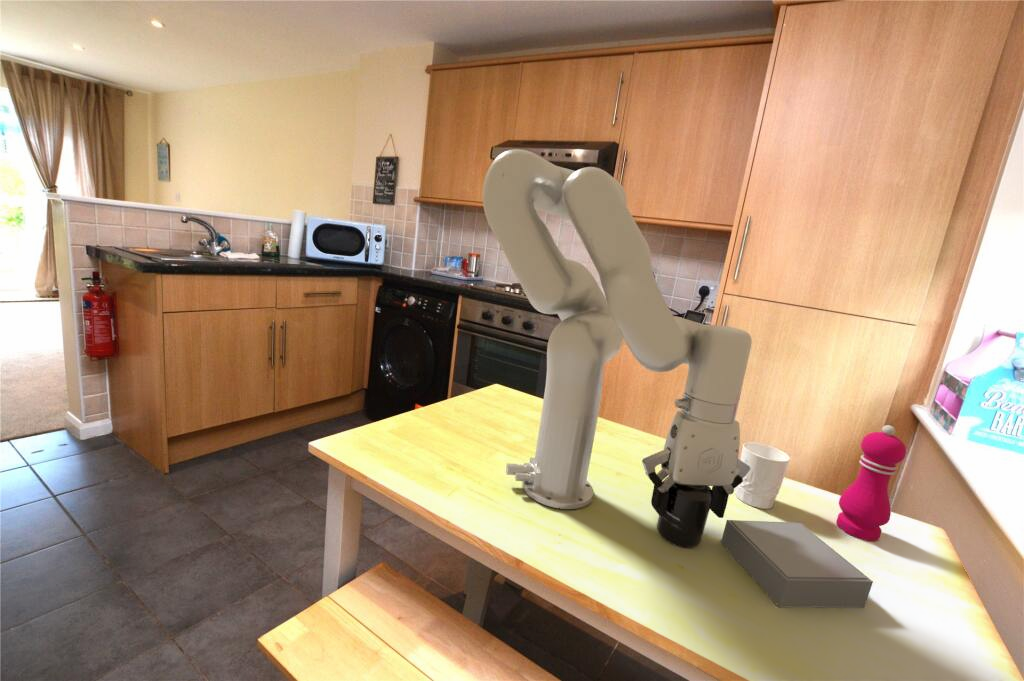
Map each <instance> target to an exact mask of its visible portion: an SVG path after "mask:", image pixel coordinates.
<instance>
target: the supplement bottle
mask: <svg viewBox="0 0 1024 681" xmlns="http://www.w3.org/2000/svg"><path fill="white" fill-rule="evenodd" d="M667 492H668V493H669V499H668V504H667V509H666V514H665V516H664V517H662V516H659V515H658V519H657V521H656V522H657V523H656V531H657V532H658V533H659V535H660V537H661V538H662V539H664V540H665V541H666V542H668V543H670V544H672V545H674V546H677V547H679V548H683V549H684V548H685V549H693V548H696V547H698V546H699V545H700V544H701V542H702V540H703V536H704V532H705V528H706V525H707V520H708V516H709V513H710V511H711V510H710V506H711V502H712V498H713V493H712V487H711V486H697V485H681V484H678V483H676V482H675V483H674V484H673V485H672V486H671V487H670V488H669V489H667Z"/></svg>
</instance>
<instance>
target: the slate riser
mask: <svg viewBox="0 0 1024 681" xmlns="http://www.w3.org/2000/svg"><path fill="white" fill-rule="evenodd" d="M720 543H721V544H722V545H723V547H724V548H725V549H726V550H727V551H728V552H729V553H730V554H731V555H732V557H733V558H734V559H736V561H737V562H738V563H739V564H740V566H742V568H743V569H744V570H745V571H746V572H747V573H748V574H749V575H750V577H751V578H752V579H753V580H754V581H755V582H756V583H757V585H759V586H760V588H762V590H763V591H764V592H765V593H766V594H767V595H768V597H769V598H770V599H771V601H773V603H775V604H776V605H777V606H778V607H779V608H865V607H866V604H867V600H868V598H869V596H870V595H869V594H870V591H871V588H872V586H873V584H874V581H873V580H872V579H871V578H870V577H868V576H867V575H865V574H864V572H862V571H860V570H859V569H858V568H857V567H856V566H854V564H852V563H850V561H848V560H847V559H846V558H844V557H843V556H842V555H841V554H839V553H838V552H837V551H836V550H835V549H834V548H833V547H831V546H829V544H827V543H826V542H825V541H824V540H822V539H821V538H820V537H818V536H817V535H816V534H815V533H813V532H812V531H811V530H810V529H809V528H808V527H806V526H805V525H804V524H802V523H801V522H795V521H794V522H793V521H792V522H790V521H761V520H741V519H740V520H737V519H726V522H725V527H724V530H723V534H722V538H721V542H720Z"/></svg>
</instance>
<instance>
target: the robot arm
mask: <svg viewBox="0 0 1024 681" xmlns="http://www.w3.org/2000/svg"><path fill="white" fill-rule="evenodd" d="M627 201H628V200H627V195H626V191H625V188H624V187H623V185H622V184H621V183H620V182H619V181H618V180H617V178H615V177H613V176H612V175H611V174H610V173H608V172H607V171H606V170H604V169H601V168H600V167H595V166H587V167H582V168H579V169H577V170H573V169H569V168H565V167H562V166H558V165H556V164H553V163H552V162H550V161H549V160H547V159H545V158H543V157H542V156H540V155H538V154H537V153H534V152H533V151H529V150H525V149H517V148H515V149H509V150H506V151H504V152H502V153H499V155H497V156H496V157H495V159H494V160H493V161H492V163H491V164H490V166H489V168H488V170H487V172H486V175H485V178H484V183H483V188H482V205H483V206H482V207H483V211H484V215H485V217H486V221H487V223H488V226H489V228H490V229H491V231H492V233H493V235H494V237H495V239H496V240H497V242H498V244H499V246H500V247H501V249H502V251H503V253H504V255H505V257H506V259H507V261H508V263H509V266H510V267H511V269H512V271H513V273H514V275H515V277H516V279H517V280H518V282H519V285H520V286H521V289H522V290H523V292H524V294H525V296H526V298H527V300H528V301H529V303H530V305H531V306H532V308H534V309H535V310H536V311H537V312H540V313H541V314H545V315H558V317H559V319H560V322H559V323H557V325H556V326H555V327H554V329H553V330H552V331H551V334H550V336H549V338H548V342H547V348H546V377H545V387H544V394H543V400H542V410H541V414H540V422H539V427H538V435H537V441H536V449H535V455H534V457H530V458H529V462H524V464H518V463H506V468H505V473H506V475H507V476H514V481H515V482H521V485H522V490H523V491H524V492H525V493H526V495H527V496H528V497H529V498H530V499H532V500H534V501H535V502H538V503H540V504H542V505H544V506H547V507H551V508H555V509H559V508H560V509H561V510H575V509H581V508H584V507H587V506H588V505H589V504H590V503H591V502H592V501H593V497H594V488H593V486H592V485H591V483H590V482H589V481H588V472H589V469H590V464H591V463H590V462H591V458H592V457H591V456H592V452H593V447H594V445H593V444H594V442H595V435H596V431H597V429H596V428H597V424H598V417H599V413H600V412H599V411H600V406H601V401H602V394H603V380H604V379H603V378H604V376H603V375H604V369H605V365H606V363H607V362H609V361H610V360H612V359H614V358H615V356H616V355H617V354H618V353H619V351H620V350H621V348H622V346H623V339H624V341H625V343H626V345H627V347H628V349H629V351H630V352H631V354H632V356H634V358H635V360H636V361H637V362H638V363H639V364H640V365H641V366H642V367H643V368H645V369H647V370H649V371H651V372H655V373H666V372H670V371H674V370H675V369H677V368H679V366H680V365H682V364H685V365H687V366H688V371H687V377H686V380H685V387H684V391H683V394H682V398H676V399H675V401H674V406H675V408H676V409H679V410H678V411H676V413H675V415H674V416H673V419H672V422H671V424H670V427H669V430H668V433H667V436H666V439H665V443H664V446H663V450H660V451H658V452H656V453H653V454H651V455H649V456H646V457H645V458H642V461H641V463H642V465H643V469H644V471H645V475H646V476H647V478H648V479H649V480H650V481H651V483H653V488H652V489H653V490H652V495H651V501H650V503H651V506H652V508H653V509H654V511H655V512H656V513H657V514H658V517H659V516H662V517H664V516H665V514H666V509H667V504H668V499H669V493H668V492H667V489H669V488H670V487H671V486H672V485H673V484H674V483H675V482H676V483H678V484H681V485H697V486H709V487H711V490H712V493H713V498H712V502H711V506H710V510H709V511H711V512H712V513H713V514H714V515H715V516H717V518H719V519H722V518H724V516H725V511H726V509H727V504H728V500H729V495H733V493H735V488H736V487H737V486H738V485H739V484H741V483H742V481H743V478H744V477H745V476H746V474H747V473H748V472H749V470H750V466H748V465H747V464H746V463H744V462H743V461H741V460H740V458H739V454H740V446H741V445H740V444H741V430H740V429H741V428H740V422H739V421H737V420H736V416H737V413H738V412H737V411H738V407H739V403H740V400H741V399H740V398H741V395H742V389H743V384H744V380H745V375H746V371H747V367H748V362H749V356H750V353H751V349H752V345H753V344H752V343H753V341H752V340H753V339H752V337H751V335H750V333H749V332H747V331H746V330H743V329H740V328H737V327H732V326H726V325H718V324H705V323H701V322H697V321H693V320H690V319H687V318H683V317H680V316H675V315H673V313H672V311H671V309H670V308H669V306H668V304H667V301H666V300H665V298H664V297H663V294H662V292H661V289H660V287H659V285H658V283H657V280H656V277H655V274H654V271H653V266H652V252H651V250H650V249H651V248H650V247H649V246H650V245H649V244H648V241H647V240H646V238H645V237H644V235H643V233H642V231H641V230H640V228H639V226H638V224H637V222H636V220H635V219H634V217H633V215H632V213H631V212H630V209H629V208H628V206H627ZM537 212H540V213H545V214H547V215H551V216H555V217H558V218H562V219H566V220H569V221H571V223H572V225H573V227H574V229H575V231H576V233H577V235H578V237H579V238H580V241H581V243H582V244H583V246H584V248H585V250H586V252H587V253H588V255H589V258H590V259H591V261H592V263H593V264H594V267H595V269H596V271H597V273H598V275H599V276H598V277H599V280H600V284H601V287H602V289H601V288H600V285H599V284H598V282H597V280H596V279H595V277H594V275H593V274H592V273H591V271H590V270H589V269H588V268H587V267H586V266H585V265H584V264H582V263H580V262H578V261H576V260H571V259H567V258H566V257H565V256H564V255H563V253H562V252H561V250H560V248H559V247H558V245H557V243H556V241H555V240H554V238H553V236H552V234H551V232H550V229H549V228H548V227H547V225H546V223H545V222H544V221H543V220H542V219H541V217H540V215H539V214H538V213H537ZM657 466H660V467H661V469H660V470H659V471H658V472H656V467H657Z"/></svg>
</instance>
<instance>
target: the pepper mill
mask: <svg viewBox="0 0 1024 681" xmlns="http://www.w3.org/2000/svg"><path fill="white" fill-rule="evenodd" d="M896 432H897V431H896V428H895V427H894V426H892V425H889V424H887V425H886V424H885V425H884V426H883V427H882V428H881V431H873V432H870V433H868V434H866V435H865V436H864V437H863V438H862V441H861V444H860V448H861V450H862V452H863V454H862V455H860V460H859V462H858V463H859V464H860V465H861V466H860V471H859V473H858V475H857V478H856V479H855V481H853V483H851V485H849V486H848V487H847V488H846V489H845V490H844V491H843V492H842V494H840V497H839V499H838V506H839V508H840V510H841V511H842V512H839V513H838V515H837V518H836V525H837V528H839V529H840V530H842V531H843V532H844V533H846V534H848V535H850V536H852V537H854V538H857V539H859V540H863V541H866V542H877V541H879V540H880V538H881V534H882V529H881V527H882V526H884V525H887V524H888V523H889V522H890V520H891V515H892V514H891V510H892V509H891V504H890V500H889V499H890V498H889V493H888V491H889V490H888V486H889V483H890V482H889V481H890V480H891V477H892V476H893V475H894V476H895V475H896V473H897V471H896V470H898V466H897V464H898V463H901V462H903V461H904V459H905V457H906V454H907V448H906V445H905V443H904V442H903V441H902V440H901V439H900V438H898V437H897V436H895V434H896Z"/></svg>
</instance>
